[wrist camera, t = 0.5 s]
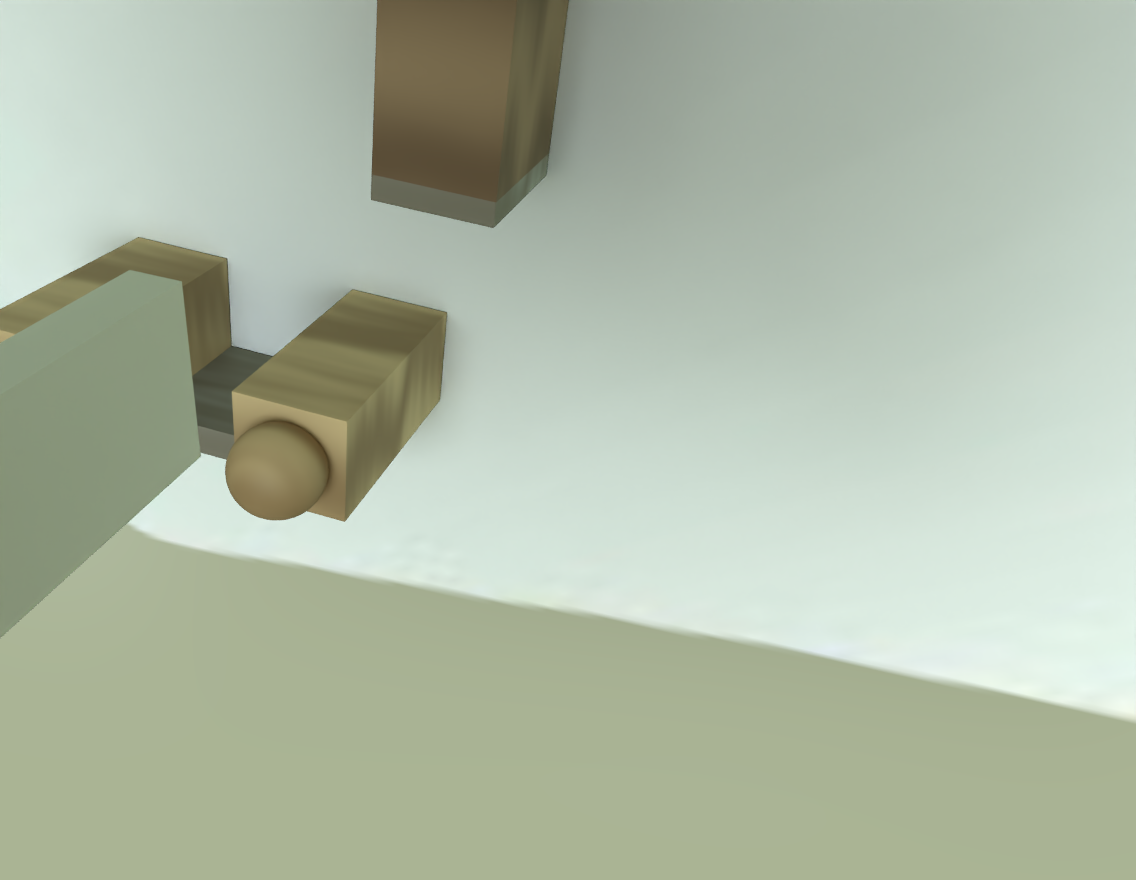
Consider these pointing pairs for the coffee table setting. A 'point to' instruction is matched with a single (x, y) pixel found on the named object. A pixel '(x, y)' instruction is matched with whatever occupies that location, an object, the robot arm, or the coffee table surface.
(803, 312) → the coffee table surface
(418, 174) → the rail
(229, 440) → the knobbed wooden twin blocks
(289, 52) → the coffee table surface
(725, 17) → the coffee table surface
